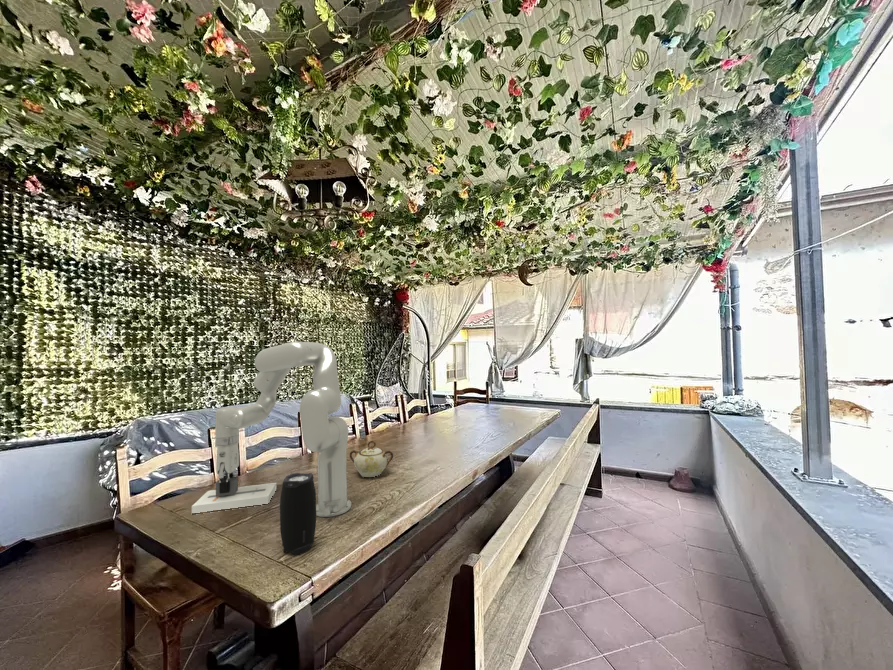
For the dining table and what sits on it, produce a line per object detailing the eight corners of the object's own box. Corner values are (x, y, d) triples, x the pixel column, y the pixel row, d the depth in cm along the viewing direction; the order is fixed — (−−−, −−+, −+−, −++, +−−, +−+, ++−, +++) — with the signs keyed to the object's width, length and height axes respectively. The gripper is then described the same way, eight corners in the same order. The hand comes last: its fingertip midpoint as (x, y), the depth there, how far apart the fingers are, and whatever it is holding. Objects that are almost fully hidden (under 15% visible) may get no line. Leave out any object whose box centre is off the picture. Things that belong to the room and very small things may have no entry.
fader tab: (234, 494, 125) (234, 480, 125) (215, 496, 123) (215, 482, 123) (237, 490, 129) (237, 476, 129) (219, 492, 127) (220, 478, 127)
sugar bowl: (396, 468, 158) (396, 436, 158) (389, 480, 143) (388, 445, 144) (355, 469, 159) (355, 437, 160) (343, 481, 144) (343, 445, 145)
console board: (268, 504, 123) (268, 495, 123) (191, 515, 117) (191, 505, 117) (276, 490, 137) (276, 482, 137) (208, 498, 130) (208, 490, 130)
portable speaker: (282, 543, 97) (281, 474, 98) (316, 536, 100) (316, 469, 101) (278, 560, 89) (278, 484, 90) (316, 552, 92) (315, 478, 93)
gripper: (230, 445, 120) (230, 497, 119) (245, 434, 136) (245, 481, 135) (206, 447, 118) (206, 500, 117) (224, 436, 134) (223, 483, 133)
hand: (227, 489), depth 126 cm, fingers closed on fader tab, 4 cm apart
